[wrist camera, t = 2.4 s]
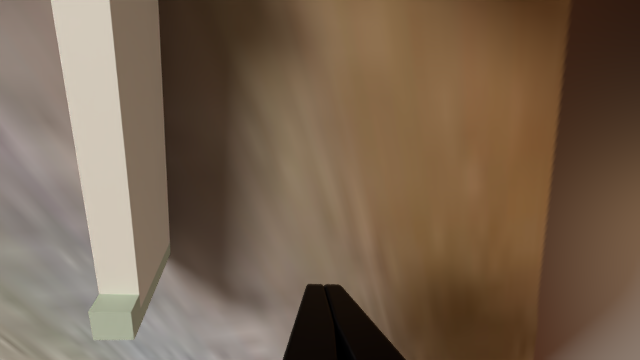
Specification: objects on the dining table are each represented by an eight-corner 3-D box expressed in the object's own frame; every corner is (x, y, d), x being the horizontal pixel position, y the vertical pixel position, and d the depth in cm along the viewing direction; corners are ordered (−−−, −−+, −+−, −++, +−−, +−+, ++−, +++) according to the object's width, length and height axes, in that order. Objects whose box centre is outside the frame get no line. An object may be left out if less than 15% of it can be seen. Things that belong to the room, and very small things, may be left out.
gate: (109, -95, 13) (-2, -168, 8) (153, -86, 13) (76, -151, 8) (141, 252, 20) (93, 340, 15) (170, 253, 20) (134, 339, 15)
